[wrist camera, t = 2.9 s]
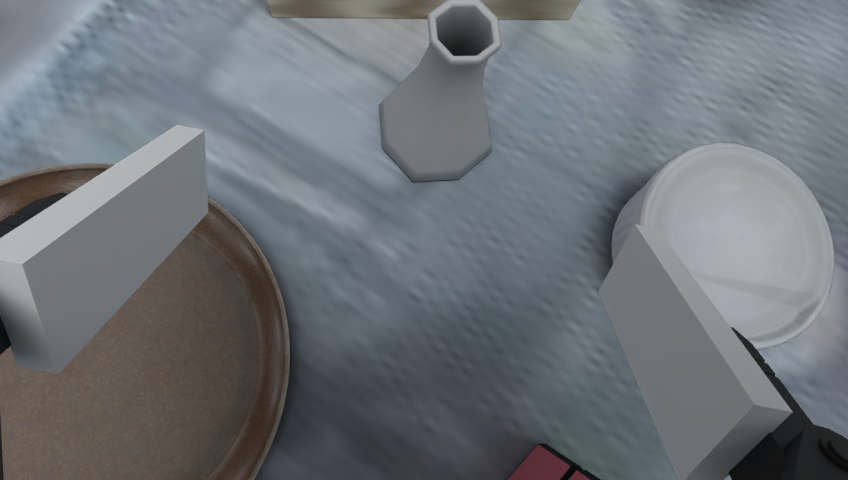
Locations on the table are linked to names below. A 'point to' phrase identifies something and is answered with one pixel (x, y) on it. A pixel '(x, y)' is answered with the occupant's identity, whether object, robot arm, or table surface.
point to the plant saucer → (157, 365)
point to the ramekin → (741, 236)
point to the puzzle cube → (549, 467)
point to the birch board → (418, 8)
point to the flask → (444, 97)
